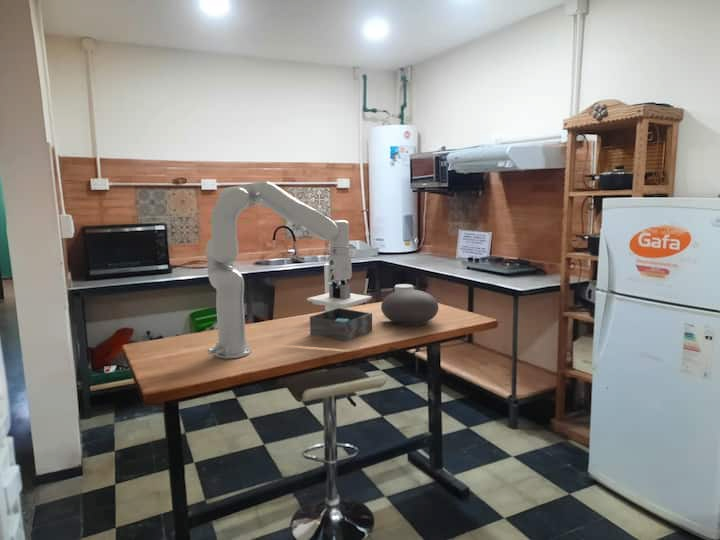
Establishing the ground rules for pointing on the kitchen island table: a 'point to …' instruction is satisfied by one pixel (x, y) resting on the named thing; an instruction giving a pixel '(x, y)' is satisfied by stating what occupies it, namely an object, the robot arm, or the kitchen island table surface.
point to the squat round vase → (409, 307)
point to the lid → (342, 302)
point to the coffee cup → (403, 287)
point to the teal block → (342, 320)
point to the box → (341, 324)
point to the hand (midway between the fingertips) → (339, 296)
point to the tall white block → (327, 285)
